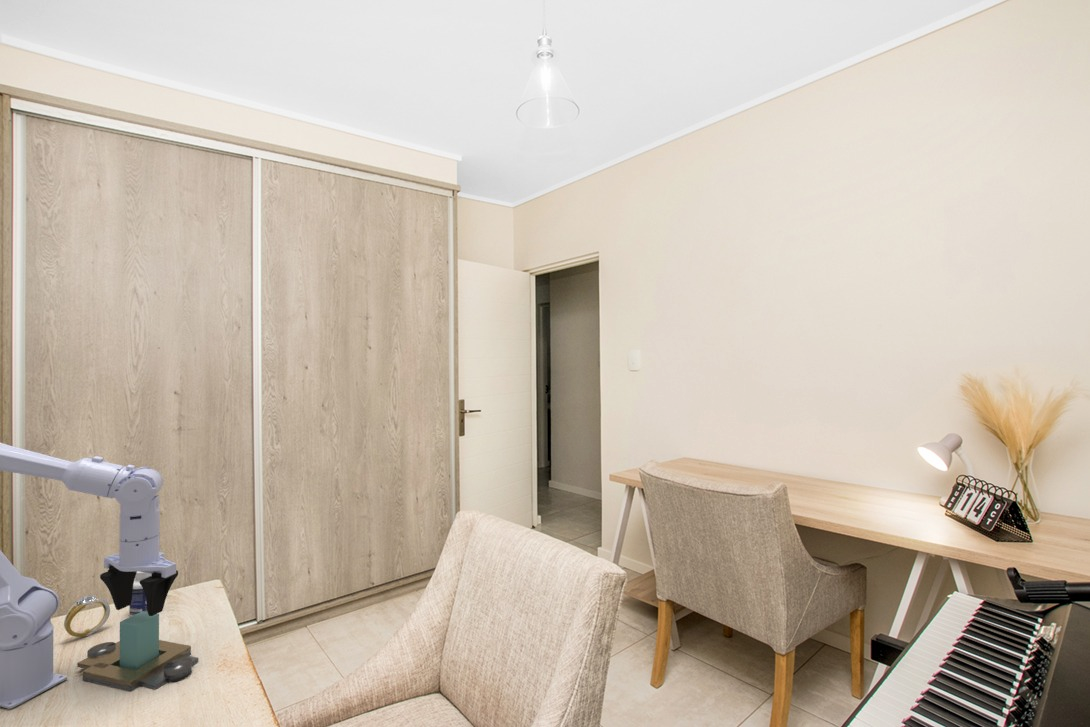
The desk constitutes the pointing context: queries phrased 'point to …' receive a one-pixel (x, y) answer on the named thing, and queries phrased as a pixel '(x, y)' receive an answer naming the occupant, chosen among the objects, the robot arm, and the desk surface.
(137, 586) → the pill bottle
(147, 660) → the teal pin
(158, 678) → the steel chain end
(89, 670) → the tan slotted board
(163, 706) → the desk surface
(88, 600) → the ring
